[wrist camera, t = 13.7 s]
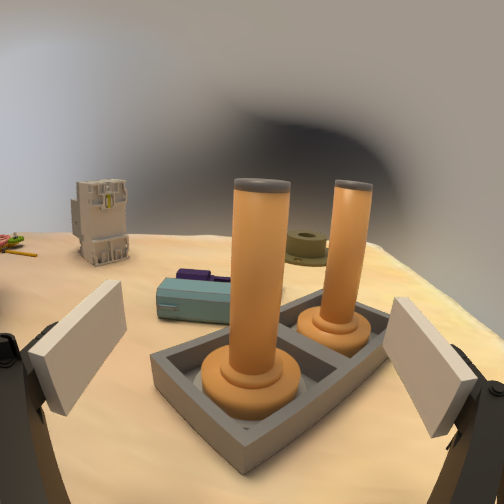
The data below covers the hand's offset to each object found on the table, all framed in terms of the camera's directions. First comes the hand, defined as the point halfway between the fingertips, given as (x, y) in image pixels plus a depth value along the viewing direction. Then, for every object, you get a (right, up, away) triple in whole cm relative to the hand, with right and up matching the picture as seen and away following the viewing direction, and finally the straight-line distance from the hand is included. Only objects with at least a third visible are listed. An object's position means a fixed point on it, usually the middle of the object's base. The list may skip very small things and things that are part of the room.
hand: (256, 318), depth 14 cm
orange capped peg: (+8, -6, +19) cm, 21 cm away
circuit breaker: (-32, +2, +45) cm, 55 cm away
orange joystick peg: (0, -8, +11) cm, 13 cm away
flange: (+11, +2, +53) cm, 54 cm away
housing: (+4, -8, +15) cm, 18 cm away
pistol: (-4, -4, +30) cm, 30 cm away
